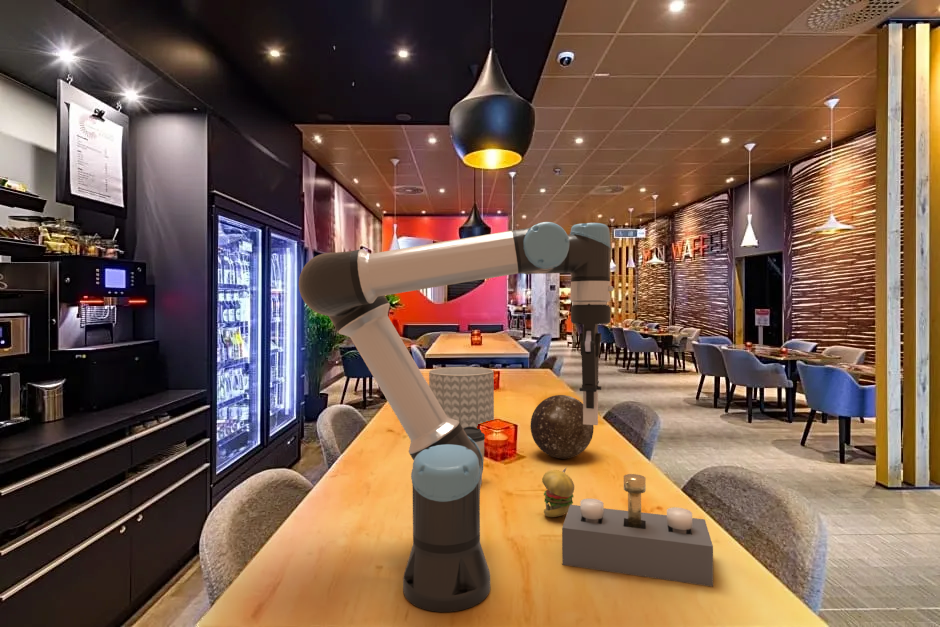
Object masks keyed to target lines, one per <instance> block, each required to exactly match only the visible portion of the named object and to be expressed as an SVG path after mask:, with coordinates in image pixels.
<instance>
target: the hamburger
mask: <svg viewBox="0 0 940 627" xmlns="http://www.w3.org/2000/svg"><path fill="white" fill-rule="evenodd" d="M567 468H568V467H567V466H566V467H565V468H564V469H563V470H560V469H559V470H558V469H550V470H548V471H546V472H545V473H544V474H543V477H542V478H541V479H542V481H541V483H542V484H543V485H544V487H545V490H544V493H543V496H544V500H543V501H544V503H545V509H543V513H544V515H545V516H546V517H548V518H556V517H557V518H558V517H561V516H564V515H565V514H566V515H567V512H568V510H569V507H570V505H573V504H574V501H573V499H574V491H575V483H574V480H573V479H572V478H571V477H570V476H569V475H568V474H567V473H566V470H567Z"/></svg>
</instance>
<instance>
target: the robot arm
mask: <svg viewBox="0 0 940 627" xmlns="http://www.w3.org/2000/svg"><path fill="white" fill-rule="evenodd" d="M611 249H612V246H611V234H610V228H609V226H608V225H607V224H605V223H600V222H587V223H582V222H581V223H577V224H573V225H572V226H571V228H570V232H569V234H568V233H567V232H566V230H565V229H564V228H563V227H562V226H561V225H559V224H557V223H555V222H552V221H543V222H539V223H536V224H534V225H533V226H531V227H525V228H519V229H515V230H514V229H513V230H506V231H501V232H496V233H488V234H483V235H477V236H469V237H465V238H457V239H451V240H446V241H439V242H435V243H427V244H422V245H417V246H410V247H405V248H399V249H398V248H397V249H391V250H385V251H379V252H374V253H370V252H368V251H367V250H366V249H361V248H360V249H355V250H354V249H353V250H347V251H337V252H326V253H321V254H320V253H319V254H318V255H316V256H314V257H312V258H311V259H309V260H308V261H307V263H305V265H304V266H303V268H302V269H301V272H300V274H299V277H298V292H299V293H300V294H299V295H300V297H301V298H302V300H303V302H304V303H305V304H306V306H307V307H309V308H310V309H311V310H312V311H314V312H316V313H318V314H320V315H323V316H327V317H328V318H329V319H330V320H331V323H332V325H333V326H334V327H335V329H336V332H337V333H338V335H343V336H346V337H348V338H350V340H351V341H352V343H353V345H354V346H355V348H356V350H357V351H358V353H359V355H360V356H361V359H363V362H364V363H365V365H366V367H367V368H368V371H369V372H370V373H371V375H372V378H374V380H375V382H376V384H377V385H378V388H380V391H381V392H382V393H383V395H384V397H385V399H386V401H387V403H388V405H389V406H390V407H391V410H392V411H393V412H394V415H395V416H396V417H397V420H398V421H399V423H400V425H401V427H402V428H403V430H404V431H405V433H406V435H407V437H408V438H409V440H410V444H409V447H408V453H409V455H410V456H411V459H412V460H413V461H412V469H411V474H410V475H411V476H410V478H411V479H410V480H411V484H412V485H411V486H412V547H411V551H410V553H409V556H408V560H407V563H406V565H405V570H404V572H403V577H402V586H403V588H402V589H403V591H402V592H403V595H404V597H405V599H406V601H408V602H409V603H411V604H412V605H414V606H416V607H417V608H420V609H423V610H426V611H430V612H438V613H450V612H451V613H452V612H458V611H459V612H460V611H463V610H467V609H469V608H473V607H475V606H477V605H478V604H480V603H482V602H483V601H484V600H485V599H486V598H487V596H489V594H490V591H491V572H490V569H489V566H488V563H487V559H486V557H485V553H484V551H483V548H482V545H481V532H480V531H481V526H480V525H481V521H480V520H481V516H480V515H481V512H480V510H481V507H480V501H481V500H480V499H481V498H480V496H481V486H482V484H481V479H482V480H483V472H484V462H483V459H482V454H481V451H480V449H479V447H478V446H477V444H476V443H475V442H474V441H473V440H472V439H471V438H470V437H469V436H467V434H466V433H465V431H464V429H463V428H462V426H461V424H460V423H459V421H458V420H454V419H450V418H448V417H447V416H446V414H445V412H444V410H443V409H442V407H441V405H440V404H439V402H438V400H437V399H436V397H435V395H434V394H433V392H432V390H431V388H430V387H429V382H428V381H427V380H426V378H425V377H424V375H423V373H422V371H421V370H420V368H419V366H418V365H417V363H416V361H415V360H414V359H413V356H412V354H411V353H410V352H409V350H408V347H407V346H406V345H405V343H404V341H403V339H402V337H401V336H400V334H399V333H398V331H397V328H396V327H395V326H394V324H393V322H392V321H391V319H390V317H389V315H388V314H389V310H390V306H391V304H390V303H389V301H388V299H387V297H386V296H389V295H390V296H391V295H394V294H395V295H396V294H402V293H406V292H407V293H408V292H414V291H421V290H425V289H432V288H437V287H445V286H450V285H456V284H461V283H463V284H464V283H469V282H475V281H480V280H487V279H492V278H499V277H505V276H511V275H518V274H523V275H527V276H528V275H535V274H538V275H539V274H541V275H543V274H544V275H545V274H548V275H549V274H570V301H571V302H572V303H573V305H571V307H570V322H571V323H572V324H575V325H583V326H582V332H581V333H579V336H578V338H579V340H578V341H579V343H580V344H579V345H580V355H581V378H582V380H581V382H582V383H581V387H579V392H583V393H582V403H583V424H586V425H593V426H598V425H599V391H601V390H602V386H601V385H599V383H600V382H599V365H600V364H599V361H600V360H599V359H600V358H599V357H600V355H601V342H602V333H601V332H600V333H599V331H598V326H599V325H608V324H610V323H611V306H610V304H608V303H609V302H610V301H611V293H610V292H613V291H614V286H612V285H611ZM610 285H611V286H610Z"/></svg>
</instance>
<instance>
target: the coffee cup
mask: <svg viewBox="0 0 940 627" xmlns="http://www.w3.org/2000/svg"><path fill="white" fill-rule="evenodd" d="M463 429H464V431H465V433H466V434H467V436H469V437H470V438H471V439H472V440H473V441H474V442H475V443H476V444H477V446H478V447H479V449H480V451H481V454H482V459H483V463H484V462H485V460H484V458H485V439H486V437H485V436H486V435H485V433H484V432H482V430H480V429H477V428H475V427H471V426H468V427H466V428H463ZM482 480H483V478H482V479H481V485H482V482H483V481H482Z"/></svg>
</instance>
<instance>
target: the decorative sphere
mask: <svg viewBox="0 0 940 627" xmlns="http://www.w3.org/2000/svg"><path fill="white" fill-rule="evenodd" d="M594 426H595V425H586V424H583V402H581V401H580V400H579V399H577V398H575V397H573V396H570V395H565V394H556V395H552V396H549V397H547V398H545V399H544V400H542V401H541V402H539V403H538V404H537V406H536V407H535V409H534V411H533V412H532V415H531V418H530V426H529V427H530V432H531V436H532V439H533V441H534V443H535V445H536V446H537V448H539V449H540V450H541V452H543V453H545V454H546V455H548V456H549V457H553V458H557V459H571V458H575V457H577V456H578V455H580V454H582V453H583V452H584V451H585V450H586V449H587V448H588V447H589V445H590V444H591V442H592V439H593V436H594V429H595V428H594Z"/></svg>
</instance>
